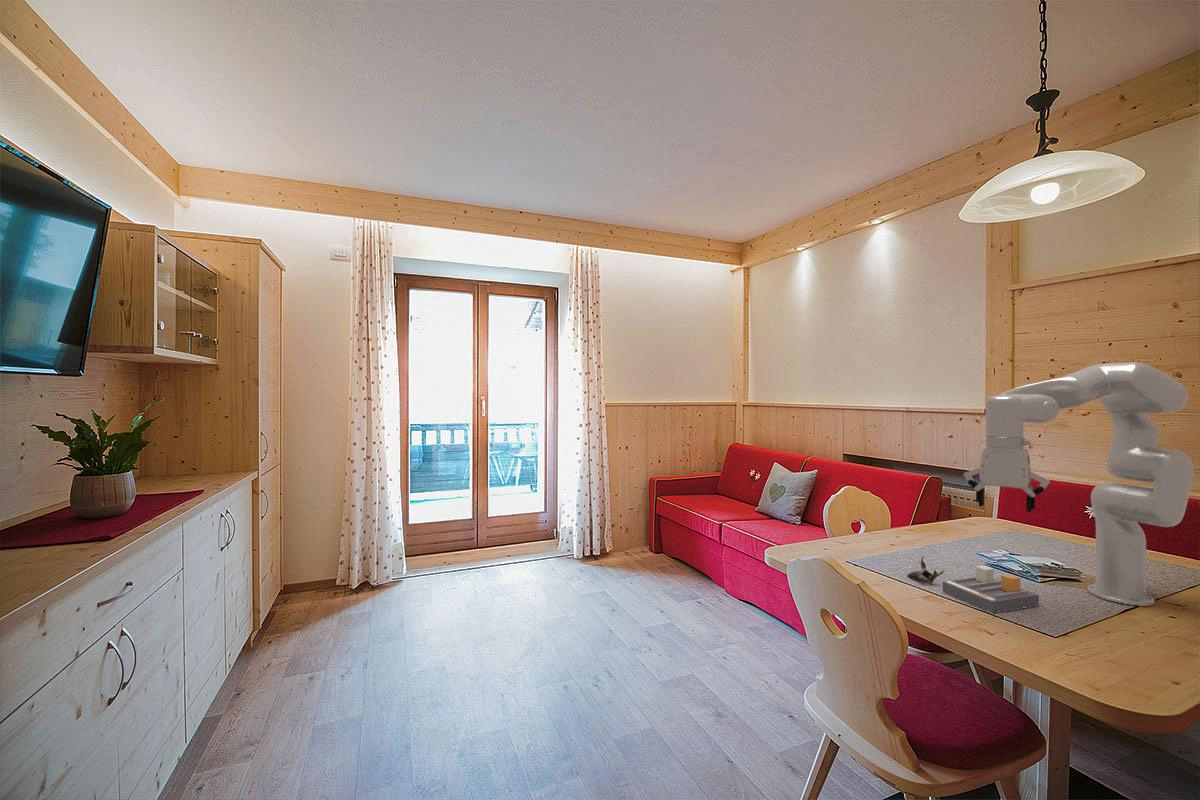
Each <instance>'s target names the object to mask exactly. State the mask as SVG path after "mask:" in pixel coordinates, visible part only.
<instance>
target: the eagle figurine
mask: <svg viewBox="0 0 1200 800" xmlns="http://www.w3.org/2000/svg"><path fill="white" fill-rule="evenodd" d="M920 568H921V570H913V571H912V572H910V573H908V574H907V576H912V577H918V576H919V577H920V576H923V577H924V578H925V579H926V580H928V581H929V585H930V586H933V584H934V582H935V580H936V579H937V577H939V576H941V575H942V574H944V572H945V570H942V571H939V573H938V572H937V570H936V569H934V571H933V573H932V572H929V571H928V570H927V566H926V563H925V562H924V556H921V560H920Z"/></svg>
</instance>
